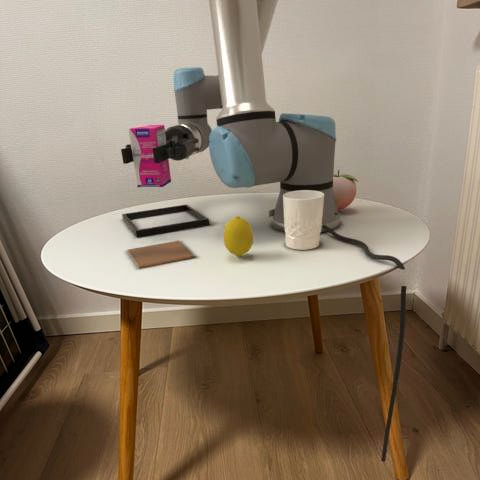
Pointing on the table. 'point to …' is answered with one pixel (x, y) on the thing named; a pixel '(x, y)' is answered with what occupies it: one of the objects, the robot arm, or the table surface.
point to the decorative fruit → (344, 190)
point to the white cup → (303, 218)
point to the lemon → (238, 236)
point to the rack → (166, 228)
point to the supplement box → (149, 155)
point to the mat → (160, 254)
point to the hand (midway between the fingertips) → (139, 156)
